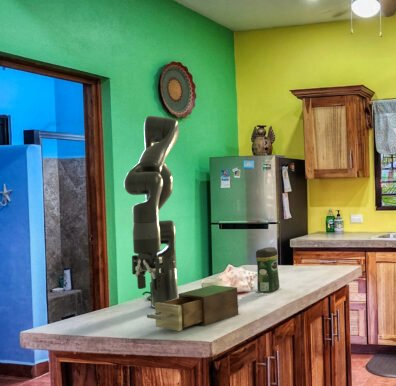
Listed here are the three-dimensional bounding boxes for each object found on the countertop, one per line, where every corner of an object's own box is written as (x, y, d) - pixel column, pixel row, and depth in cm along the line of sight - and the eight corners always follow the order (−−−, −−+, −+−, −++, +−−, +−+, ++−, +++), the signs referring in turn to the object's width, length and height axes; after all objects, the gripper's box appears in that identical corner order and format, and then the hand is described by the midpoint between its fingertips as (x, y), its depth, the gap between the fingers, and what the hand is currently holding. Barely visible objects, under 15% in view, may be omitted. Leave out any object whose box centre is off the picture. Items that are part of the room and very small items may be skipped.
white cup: (217, 309, 180) (215, 282, 180) (198, 309, 182) (196, 282, 182) (228, 303, 188) (226, 278, 188) (209, 303, 189) (208, 278, 189)
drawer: (166, 335, 147) (165, 309, 147) (143, 330, 153) (141, 306, 153) (213, 319, 163) (212, 296, 163) (190, 316, 168) (189, 293, 168)
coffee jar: (266, 287, 215) (264, 246, 215) (282, 288, 213) (280, 246, 212) (254, 292, 206) (252, 249, 206) (270, 293, 204) (268, 249, 203)
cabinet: (205, 325, 159) (203, 296, 159) (179, 321, 165) (178, 293, 165) (238, 314, 172) (237, 287, 171) (213, 311, 178) (212, 285, 178)
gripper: (171, 236, 147) (174, 289, 148) (145, 235, 155) (148, 285, 156) (148, 239, 141) (150, 294, 141) (122, 237, 149) (124, 290, 149)
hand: (149, 289), depth 148 cm, fingers open, 8 cm apart
